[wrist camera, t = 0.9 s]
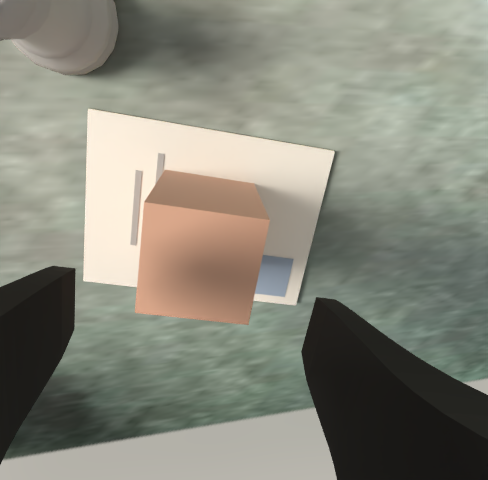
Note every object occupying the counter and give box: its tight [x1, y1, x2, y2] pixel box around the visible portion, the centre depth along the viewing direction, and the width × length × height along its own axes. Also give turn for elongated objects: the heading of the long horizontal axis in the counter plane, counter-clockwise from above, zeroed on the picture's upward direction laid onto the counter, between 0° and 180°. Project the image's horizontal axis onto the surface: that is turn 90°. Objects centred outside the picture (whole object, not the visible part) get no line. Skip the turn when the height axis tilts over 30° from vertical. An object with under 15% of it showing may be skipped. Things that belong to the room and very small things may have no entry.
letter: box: [83, 108, 335, 305], centre depth 20 cm, size 12×9×1 cm
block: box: [135, 170, 270, 325], centre depth 17 cm, size 4×4×6 cm
